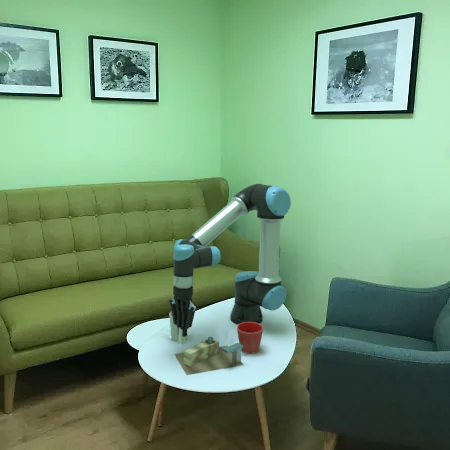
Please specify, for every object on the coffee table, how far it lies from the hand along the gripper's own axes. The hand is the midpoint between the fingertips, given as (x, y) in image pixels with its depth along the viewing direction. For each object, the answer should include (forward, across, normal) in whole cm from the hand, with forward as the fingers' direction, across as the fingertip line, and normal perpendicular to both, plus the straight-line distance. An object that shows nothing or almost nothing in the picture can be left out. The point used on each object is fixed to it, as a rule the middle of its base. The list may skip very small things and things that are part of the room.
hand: (182, 343), depth 182 cm
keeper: (+5, +19, +7) cm, 21 cm away
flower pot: (+6, +16, +23) cm, 28 cm away
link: (+5, +7, +3) cm, 9 cm away
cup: (+6, -11, +10) cm, 16 cm away
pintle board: (+6, +10, +4) cm, 12 cm away
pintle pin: (+6, +8, +8) cm, 12 cm away
